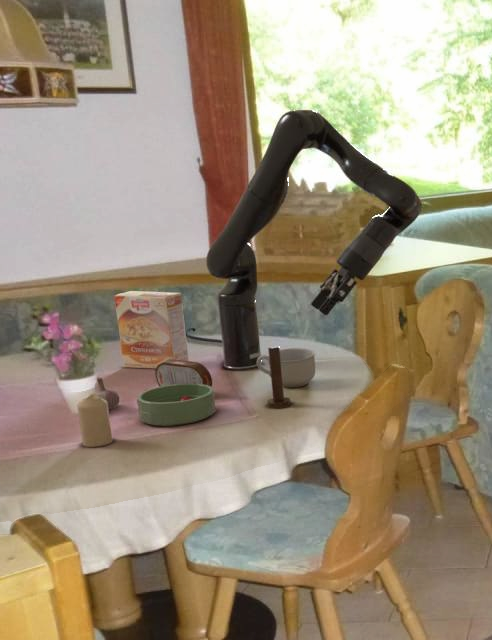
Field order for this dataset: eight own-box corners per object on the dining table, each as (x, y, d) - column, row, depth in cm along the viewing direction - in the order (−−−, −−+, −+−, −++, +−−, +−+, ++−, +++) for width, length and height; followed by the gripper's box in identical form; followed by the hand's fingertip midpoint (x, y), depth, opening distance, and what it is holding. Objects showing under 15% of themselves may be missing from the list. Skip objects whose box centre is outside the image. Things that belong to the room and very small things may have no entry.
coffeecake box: (122, 367, 270) (112, 295, 265) (139, 360, 276) (130, 290, 271) (174, 370, 267) (165, 297, 262) (190, 363, 274) (181, 291, 269)
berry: (178, 408, 233) (176, 397, 232) (190, 406, 235) (189, 394, 234) (183, 411, 231) (181, 399, 230) (195, 408, 233) (194, 397, 232)
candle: (89, 438, 214) (83, 393, 212) (116, 438, 215) (110, 392, 212) (78, 447, 209) (71, 401, 206) (106, 446, 209) (99, 400, 207)
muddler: (264, 405, 237) (258, 346, 234) (284, 400, 241) (278, 343, 237) (274, 409, 234) (268, 350, 231) (294, 405, 238) (289, 346, 234)
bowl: (129, 416, 229) (126, 393, 228) (198, 402, 240) (195, 379, 238) (156, 432, 218) (153, 407, 217) (227, 416, 229) (225, 392, 228)
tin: (215, 396, 244) (211, 362, 242) (205, 399, 242) (201, 365, 239) (165, 390, 249) (160, 356, 247) (155, 393, 246) (151, 360, 244)
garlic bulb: (104, 416, 229) (100, 382, 227) (78, 413, 231) (73, 379, 229) (129, 406, 236) (125, 373, 234) (103, 404, 238) (98, 371, 236)
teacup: (324, 379, 259) (321, 348, 257) (306, 391, 249) (303, 359, 247) (271, 377, 260) (268, 347, 258) (251, 389, 250) (248, 357, 248)
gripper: (341, 242, 245) (298, 296, 242) (356, 249, 233) (311, 305, 230) (365, 262, 249) (323, 314, 246) (382, 269, 236) (338, 324, 234)
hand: (318, 310), depth 238 cm, fingers open, 8 cm apart
